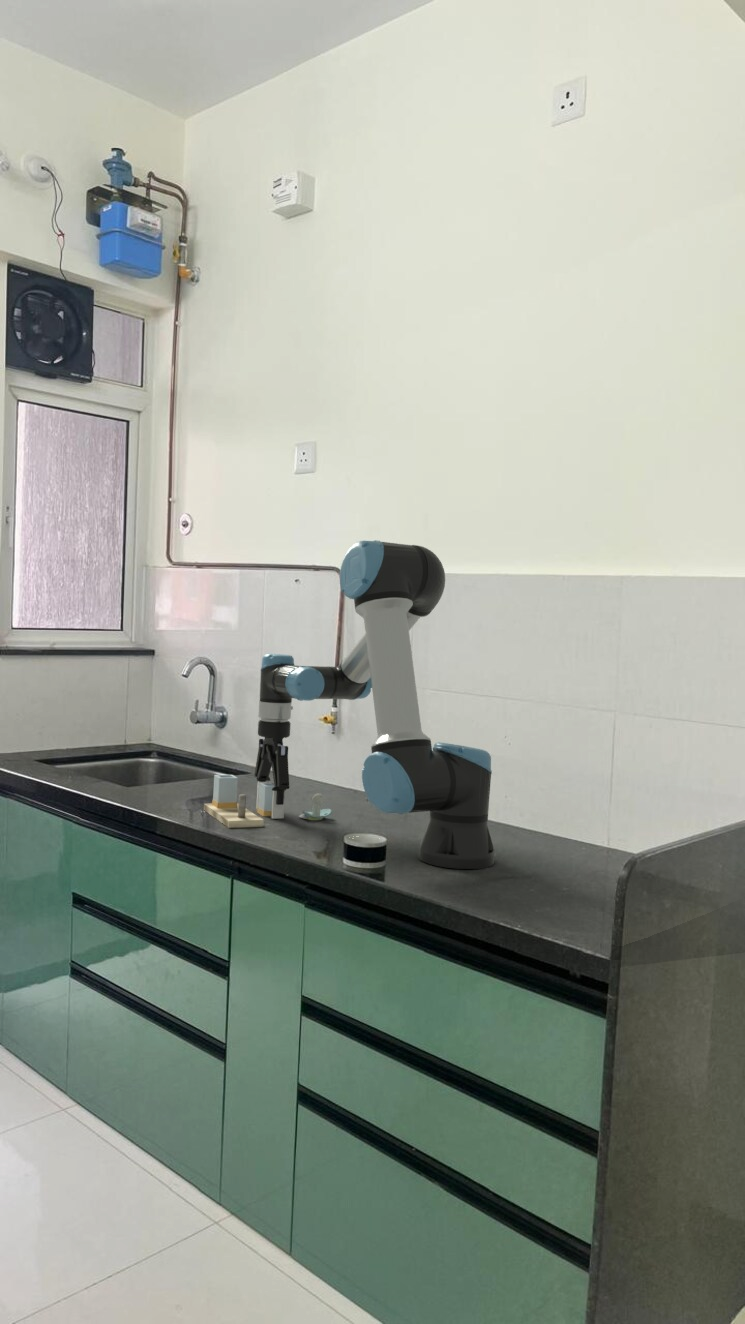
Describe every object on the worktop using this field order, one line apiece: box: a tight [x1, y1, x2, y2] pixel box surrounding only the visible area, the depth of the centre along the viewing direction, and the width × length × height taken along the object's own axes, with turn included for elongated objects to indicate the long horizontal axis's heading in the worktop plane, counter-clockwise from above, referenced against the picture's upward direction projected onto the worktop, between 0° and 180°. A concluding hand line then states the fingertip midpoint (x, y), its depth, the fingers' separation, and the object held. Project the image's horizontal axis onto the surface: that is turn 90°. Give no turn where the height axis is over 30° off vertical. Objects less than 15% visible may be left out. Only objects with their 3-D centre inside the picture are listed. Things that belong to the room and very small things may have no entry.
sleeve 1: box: [211, 774, 239, 808], centre depth 237 cm, size 5×5×7 cm
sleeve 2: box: [256, 782, 274, 817], centre depth 238 cm, size 5×5×7 cm
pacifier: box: [298, 793, 332, 821], centre depth 236 cm, size 7×6×6 cm
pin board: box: [203, 793, 265, 829], centre depth 231 cm, size 20×8×6 cm, turn 25°
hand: (269, 813), depth 238 cm, fingers open, 10 cm apart
